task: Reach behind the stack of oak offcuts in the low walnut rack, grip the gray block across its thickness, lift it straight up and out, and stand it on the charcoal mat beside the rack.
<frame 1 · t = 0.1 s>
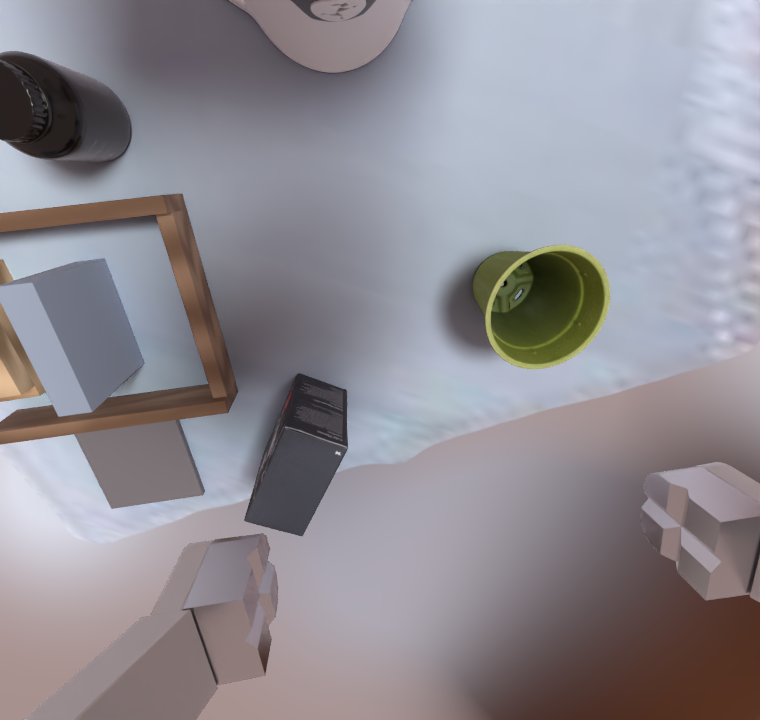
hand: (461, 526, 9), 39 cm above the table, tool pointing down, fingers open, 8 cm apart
supplement bottle: (94, 122, 37), on the table
gray block: (112, 315, 44), resting in walnut rack
charcoal mat: (144, 462, 52), on the table
offcut stack: (9, 327, 44), on the table
walnut rack: (92, 317, 44), on the table
plant pot: (501, 283, 47), on the table
small box: (303, 421, 52), on the table
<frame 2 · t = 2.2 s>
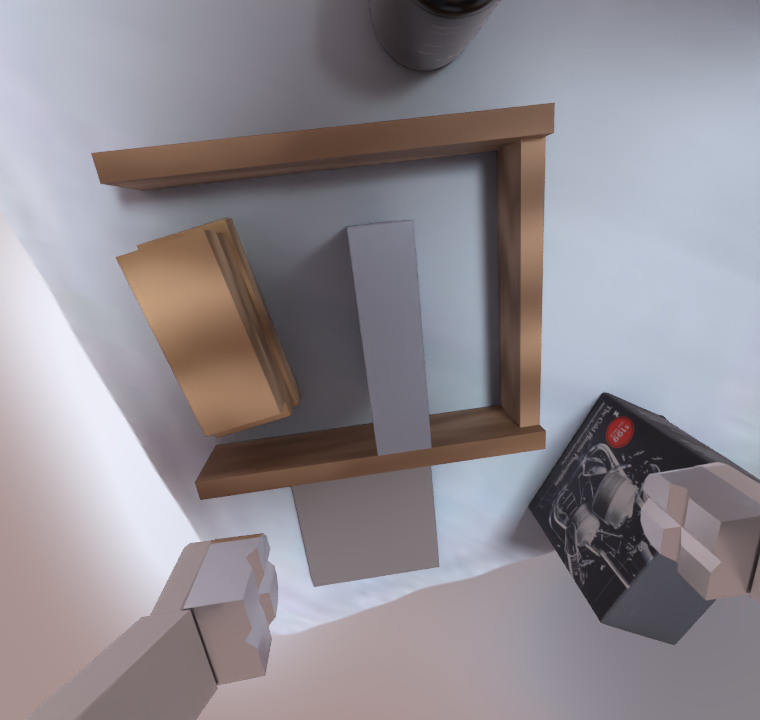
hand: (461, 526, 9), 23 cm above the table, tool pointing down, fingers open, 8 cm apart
supplement bottle: (422, 12, 25), on the table
gray block: (376, 306, 31), resting in walnut rack
charcoal mat: (368, 519, 37), on the table
offcut stack: (231, 324, 30), on the table
walnut rack: (350, 310, 30), on the table
small box: (590, 461, 37), on the table
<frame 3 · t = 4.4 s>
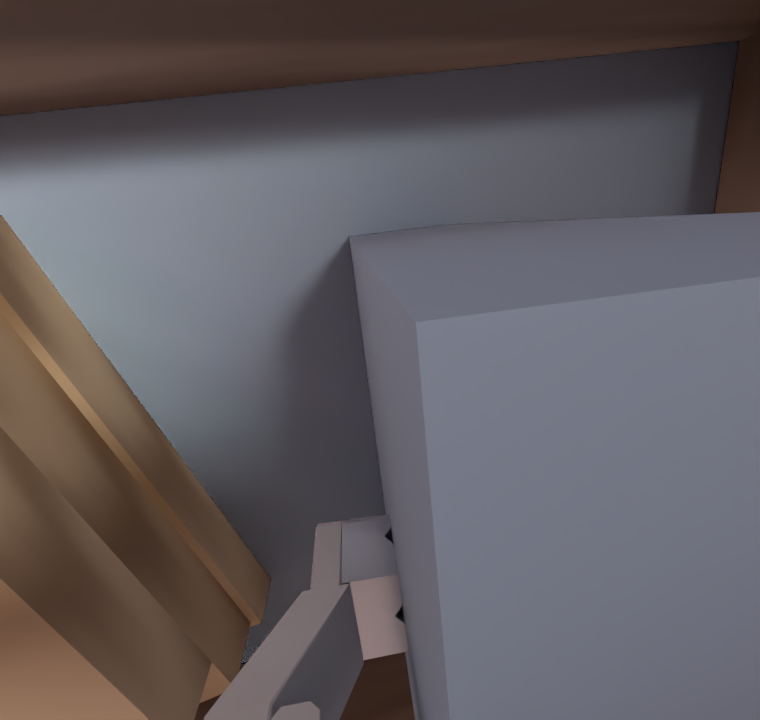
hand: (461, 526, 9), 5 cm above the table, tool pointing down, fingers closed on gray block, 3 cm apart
gray block: (418, 418, 13), resting in walnut rack, touching gripper
offcut stack: (82, 463, 13), on the table
walnut rack: (358, 426, 13), on the table
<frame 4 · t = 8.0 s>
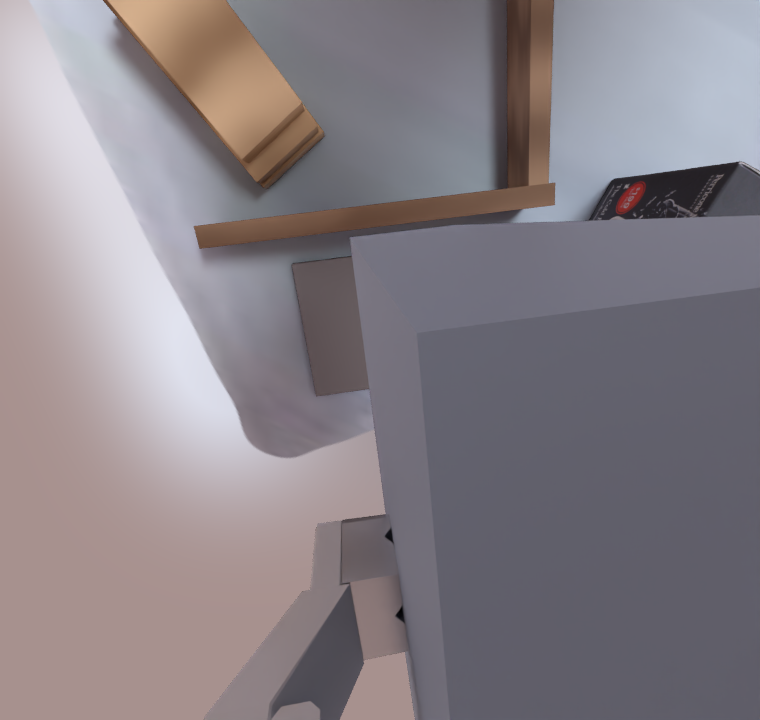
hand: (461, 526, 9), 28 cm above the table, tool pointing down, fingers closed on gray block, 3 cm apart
gray block: (418, 419, 13), point 23 cm above the table, touching gripper
charcoal mat: (372, 322, 36), on the table
offcut stack: (229, 79, 29), on the table
walnut rack: (353, 64, 29), on the table
small box: (598, 264, 36), on the table
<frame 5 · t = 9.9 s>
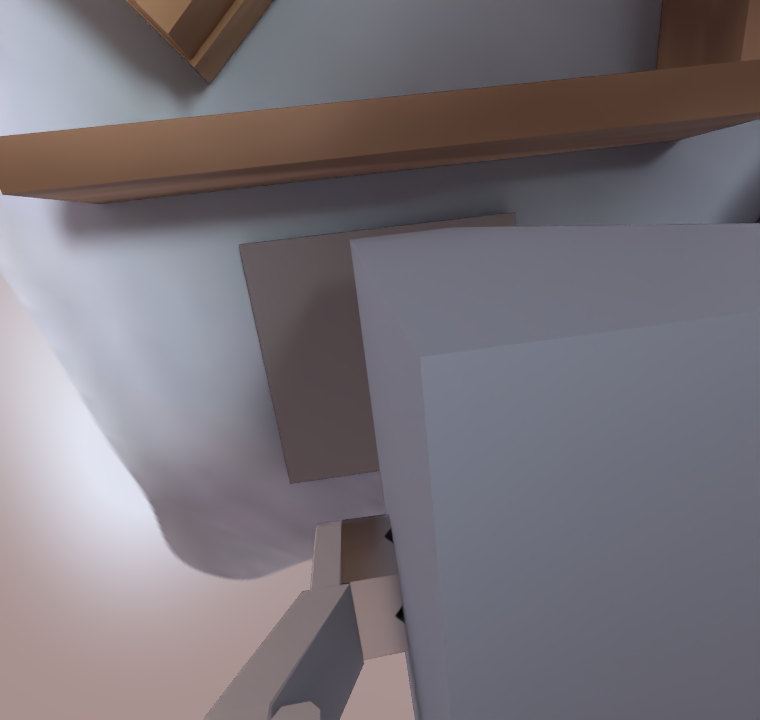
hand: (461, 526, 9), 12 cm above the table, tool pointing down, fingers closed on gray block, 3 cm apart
gray block: (418, 421, 13), point 7 cm above the table, touching gripper
charcoal mat: (391, 354, 20), on the table
when the fingers open (7 cm above the table, at t = 11.6 s): gray block stays where it is, resting on charcoal mat.
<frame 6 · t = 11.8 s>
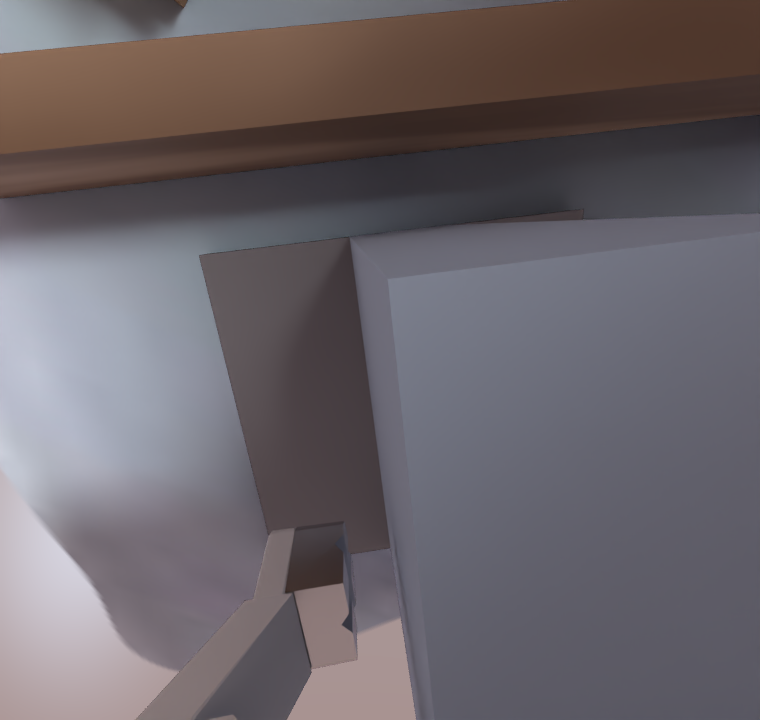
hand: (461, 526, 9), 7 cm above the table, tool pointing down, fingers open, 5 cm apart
gray block: (414, 406, 14), point 1 cm above the table, touching charcoal mat
charcoal mat: (409, 398, 15), on the table
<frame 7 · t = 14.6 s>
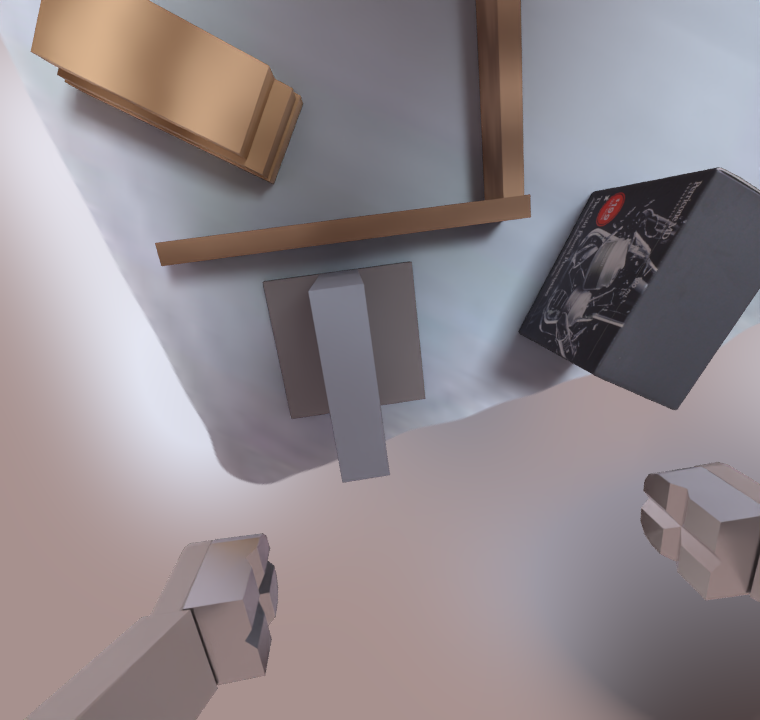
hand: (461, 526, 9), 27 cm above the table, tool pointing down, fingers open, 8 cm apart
gray block: (349, 343, 34), point 1 cm above the table, touching charcoal mat
charcoal mat: (348, 341, 35), on the table
offcut stack: (196, 98, 29), on the table
walnut rack: (322, 79, 29), on the table
small box: (582, 279, 35), on the table
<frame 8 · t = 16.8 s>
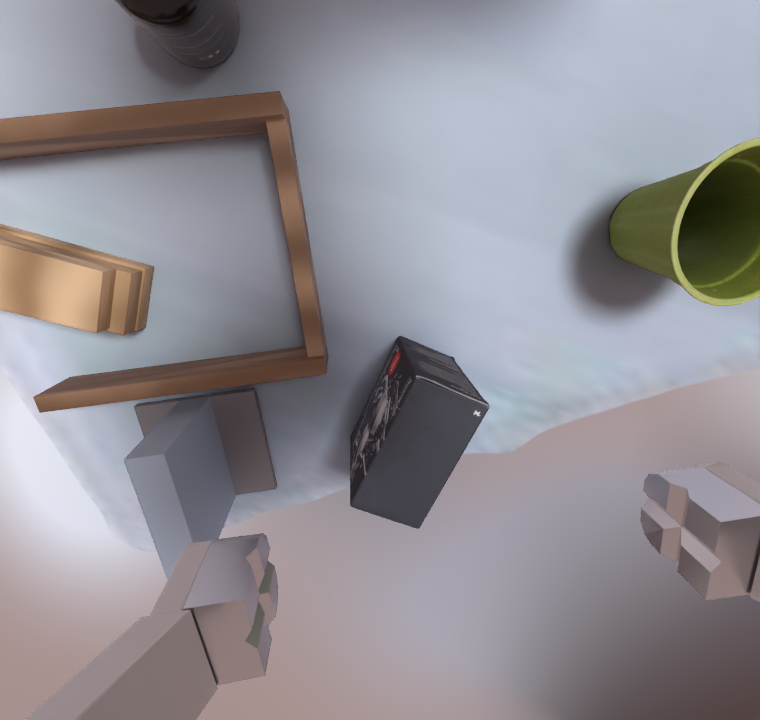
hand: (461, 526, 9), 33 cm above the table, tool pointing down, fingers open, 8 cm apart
supplement bottle: (198, 22, 32), on the table
gray block: (209, 449, 43), point 1 cm above the table, touching charcoal mat
charcoal mat: (210, 446, 44), on the table
offcut stack: (71, 276, 37), on the table
walnut rack: (170, 261, 37), on the table
plant pot: (640, 226, 40), on the table
small box: (399, 397, 44), on the table
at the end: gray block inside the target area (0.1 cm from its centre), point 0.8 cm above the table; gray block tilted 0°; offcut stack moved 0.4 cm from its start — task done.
